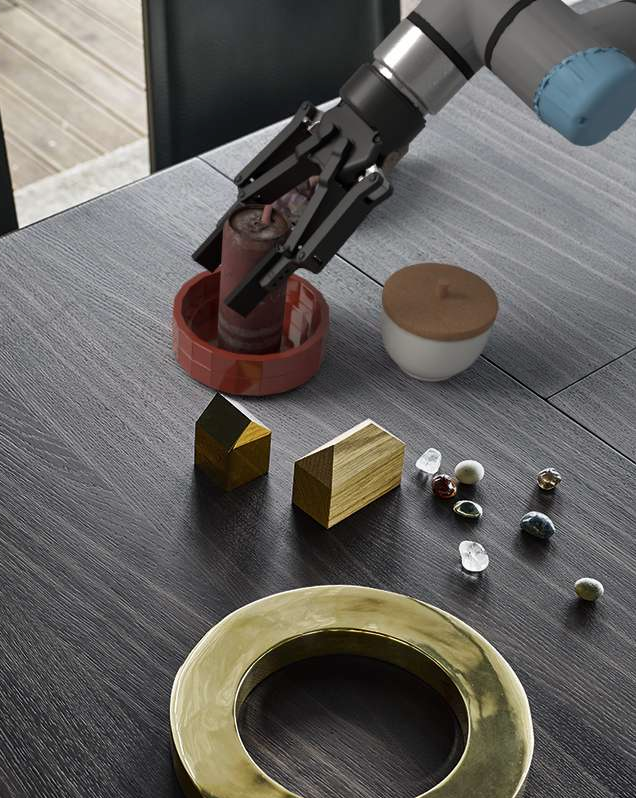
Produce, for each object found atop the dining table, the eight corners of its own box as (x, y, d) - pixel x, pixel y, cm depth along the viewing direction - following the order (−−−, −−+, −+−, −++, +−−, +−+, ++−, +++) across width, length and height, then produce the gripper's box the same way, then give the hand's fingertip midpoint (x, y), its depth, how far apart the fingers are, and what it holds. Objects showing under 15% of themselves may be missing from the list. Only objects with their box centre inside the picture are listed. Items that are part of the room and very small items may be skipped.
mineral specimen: (347, 211, 128) (302, 121, 126) (276, 246, 135) (232, 162, 133) (431, 157, 143) (391, 77, 141) (363, 192, 150) (324, 116, 148)
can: (285, 328, 122) (298, 204, 112) (275, 370, 118) (287, 245, 107) (224, 319, 122) (231, 195, 112) (211, 360, 118) (218, 234, 108)
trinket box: (417, 412, 116) (434, 331, 109) (350, 346, 122) (361, 267, 115) (505, 375, 120) (527, 296, 113) (436, 314, 126) (452, 235, 119)
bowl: (342, 326, 124) (348, 285, 120) (297, 419, 114) (301, 377, 111) (204, 290, 127) (206, 249, 123) (148, 377, 117) (148, 335, 114)
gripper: (481, 169, 104) (289, 367, 110) (367, 61, 115) (200, 246, 122) (437, 122, 98) (238, 333, 104) (322, 14, 110) (149, 210, 116)
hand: (217, 286), depth 113 cm, fingers open, 6 cm apart
